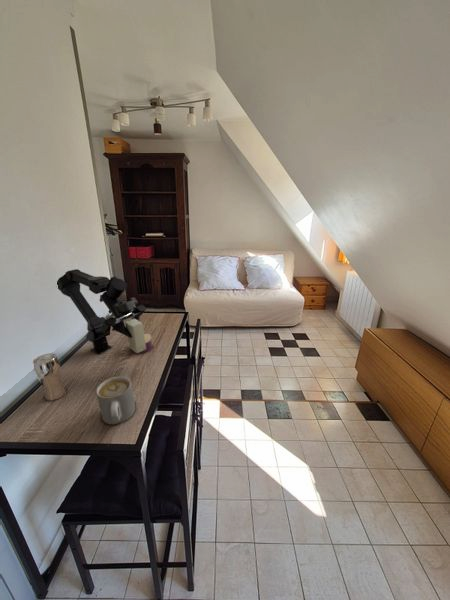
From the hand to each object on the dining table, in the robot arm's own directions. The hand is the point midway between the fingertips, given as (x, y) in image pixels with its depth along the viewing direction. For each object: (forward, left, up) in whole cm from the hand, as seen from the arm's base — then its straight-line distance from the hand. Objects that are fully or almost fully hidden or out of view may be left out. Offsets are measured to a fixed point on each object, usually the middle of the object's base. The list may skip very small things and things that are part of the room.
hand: (136, 334), depth 100 cm
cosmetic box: (-1, 0, -7) cm, 7 cm away
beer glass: (-15, -27, -15) cm, 34 cm away
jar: (-10, +10, -15) cm, 20 cm away
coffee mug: (+13, -24, -15) cm, 31 cm away
